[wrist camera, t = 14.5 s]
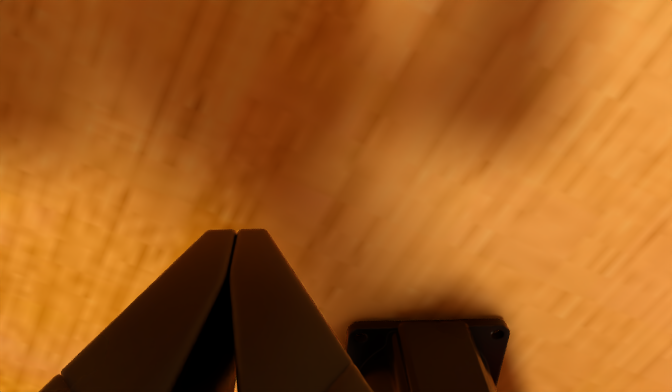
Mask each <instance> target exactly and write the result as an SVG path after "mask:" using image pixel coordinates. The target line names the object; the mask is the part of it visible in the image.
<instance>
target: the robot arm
mask: <svg viewBox="0 0 672 392" xmlns="http://www.w3.org/2000/svg"><path fill="white" fill-rule="evenodd" d="M498 330H499V331H498ZM495 331H497V332H495ZM493 332H494V333H493ZM360 333H362V334H363V335H360V336H358V335H357V334H360ZM509 335H510V331H509V329H508V327H507V324H506V323H505V321H503V320H501V319H460V320H411V321H362V322H355V323H353V324H351V325H350V326H349V327H348V329H347V337H346V351H345V349H344V348H343V346H342V344H341V343H340V341H339V340H338V338H337V337H336V335H335V334H334V332H333V331H332V329H331V328H330V326H329V325H328V323H327V322H326V320H325V318H324V317H323V315H322V314H321V312H320V311H319V309H318V308H317V306H316V305H315V303H314V302H313V300H312V299H311V297H310V296H309V294H308V293H307V291H306V289H305V288H304V286H303V285H302V283H301V282H300V280H299V279H298V277H297V276H296V274H295V273H294V271H293V270H292V268H291V267H290V265H289V263H288V262H287V260H286V259H285V257H284V256H283V254H282V253H281V251H280V250H279V248H278V247H277V245H276V244H275V242H274V241H273V239H272V238H271V236H270V234H269V233H268V232H267V230H265V229H241V230H239V231H238V232H237V233H236V231H235V230H232V229H224V230H208V231H206V232H205V233H204V234H203V235H202V236H201V237H200V238H199V239H198V240H197V241H196V242H195V243H194V244H193V245H191V246H190V247H189V248H188V249H187V250H186V251H185V252H184V253H183V254H182V255H181V256H180V257H179V258H178V259H177V260H176V261H175V262H174V263H173V264H172V265H171V266H170V267H169V268H168V269H167V270H165V271H164V272H163V273H162V274H161V275H160V276H159V277H158V278H157V279H156V280H155V281H154V282H153V283H152V284H151V285H150V286H149V287H148V288H147V289H146V290H145V291H144V292H143V293H142V294H140V295H139V296H138V297H137V298H136V299H135V300H134V301H133V302H132V303H131V304H130V305H129V306H128V307H127V308H126V309H125V310H124V311H123V312H122V313H121V314H120V315H119V316H118V317H117V318H116V319H114V320H113V321H112V322H111V323H110V324H109V325H108V326H107V327H106V328H105V329H104V330H103V331H102V332H101V333H100V334H99V335H98V336H97V337H96V338H95V339H94V340H93V341H92V342H91V343H90V344H88V345H87V346H86V347H85V348H84V349H83V350H82V351H81V352H80V353H79V354H78V355H77V356H76V357H75V358H74V359H73V360H72V361H71V362H70V363H69V364H68V365H67V366H66V367H65V368H64V369H62V371H61V375H60V374H58V375H56V376H55V377H54V378H53V379H52V380H51V381H50V382H49V383H48V384H47V385H45V386H44V387H43V388H42V389H41V390H40V391H39V392H234V388H235V382H236V380H237V391H238V392H497V389H496V385H497V381H498V377H499V374H500V370H501V366H502V362H503V358H504V354H505V351H506V347H507V343H508V339H509Z"/></svg>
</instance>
